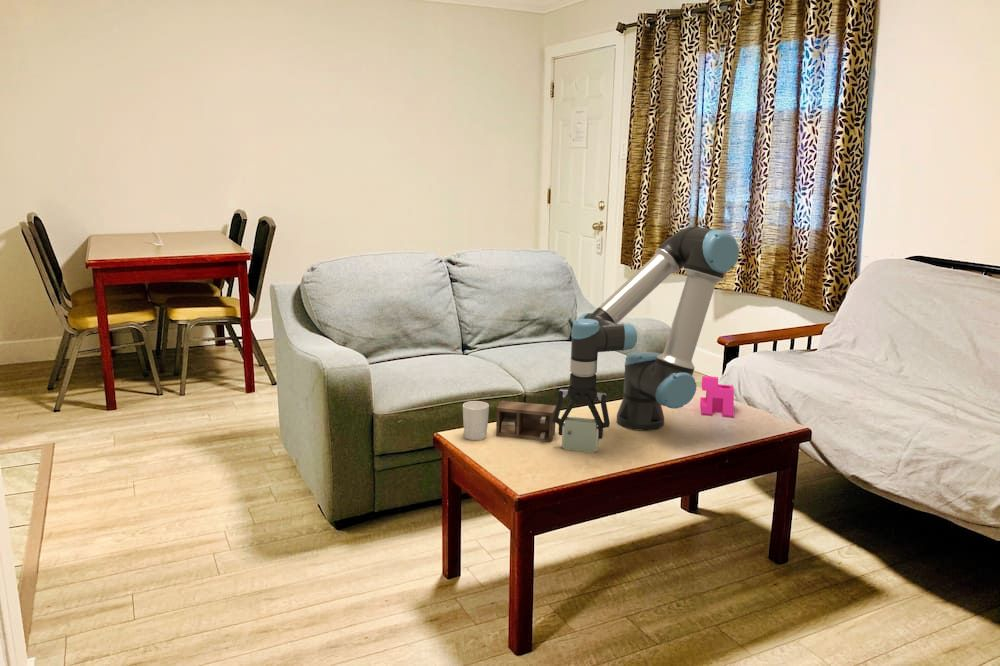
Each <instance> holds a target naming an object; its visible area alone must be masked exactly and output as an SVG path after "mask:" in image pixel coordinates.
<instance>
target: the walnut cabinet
mask: <svg viewBox="0 0 1000 666" xmlns="http://www.w3.org/2000/svg"><path fill="white" fill-rule="evenodd" d="M556 407H557V405H556V404H555V405H554V404H553V405H552V404H544V403H534V402H533V403H532V402H531V403H530V402H518V401H510V400H509V401H507V400H501V401H500V403H499V404H498V405H497V407H496V421H495V422H496V426H495V427H496V428H495V429H496V430H495V435H496V437H503V438H513V439H514V438H515V439H523V440H524V439H525V440H535V441H542V442H543V441H544V442H552V441H553V439H554V437H555V434H556V423H554V422H553V417H554V414H555V410H556Z"/></svg>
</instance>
